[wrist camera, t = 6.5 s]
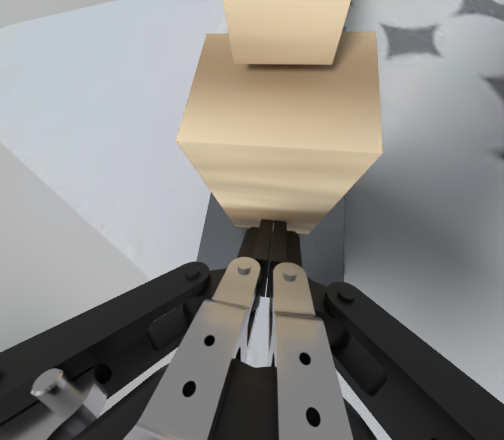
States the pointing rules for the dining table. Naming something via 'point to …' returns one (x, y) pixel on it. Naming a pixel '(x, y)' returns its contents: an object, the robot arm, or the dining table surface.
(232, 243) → the bolt plate
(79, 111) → the dining table surface
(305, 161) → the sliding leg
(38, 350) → the robot arm
